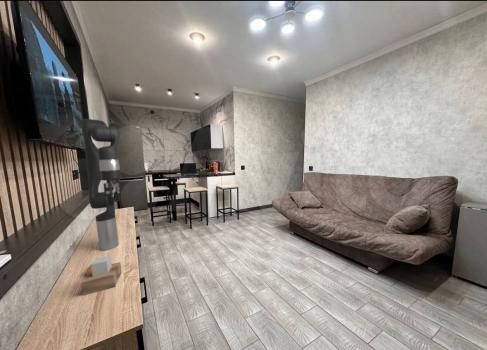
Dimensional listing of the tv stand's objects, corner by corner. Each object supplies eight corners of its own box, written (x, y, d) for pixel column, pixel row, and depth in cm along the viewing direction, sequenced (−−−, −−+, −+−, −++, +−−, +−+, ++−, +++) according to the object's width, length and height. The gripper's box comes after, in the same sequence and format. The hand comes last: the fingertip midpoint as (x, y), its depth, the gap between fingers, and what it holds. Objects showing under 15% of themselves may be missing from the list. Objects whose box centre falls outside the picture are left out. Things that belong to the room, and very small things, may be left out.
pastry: (101, 276, 78) (100, 267, 78) (81, 281, 75) (80, 273, 75) (106, 265, 87) (105, 258, 86) (88, 270, 83) (87, 262, 83)
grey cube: (97, 269, 74) (96, 258, 74) (111, 266, 76) (110, 255, 75) (92, 276, 69) (90, 264, 69) (108, 273, 71) (106, 261, 71)
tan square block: (94, 279, 76) (92, 268, 75) (121, 272, 79) (120, 262, 79) (83, 295, 66) (81, 282, 66) (115, 286, 70) (113, 274, 70)
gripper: (105, 169, 88) (109, 201, 90) (94, 170, 75) (99, 208, 77) (123, 168, 91) (127, 199, 93) (115, 169, 78) (119, 205, 79)
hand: (114, 203), depth 85 cm, fingers open, 8 cm apart
